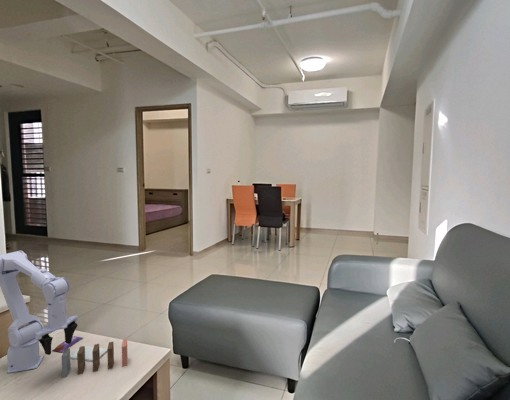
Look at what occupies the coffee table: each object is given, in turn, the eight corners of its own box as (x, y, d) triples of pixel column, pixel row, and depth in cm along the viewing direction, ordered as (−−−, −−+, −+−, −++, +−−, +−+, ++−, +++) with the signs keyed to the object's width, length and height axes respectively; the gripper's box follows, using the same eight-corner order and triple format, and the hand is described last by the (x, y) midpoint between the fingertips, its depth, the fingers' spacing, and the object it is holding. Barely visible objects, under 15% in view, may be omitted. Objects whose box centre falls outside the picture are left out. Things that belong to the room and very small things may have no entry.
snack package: (73, 334, 138) (83, 335, 137) (74, 338, 138) (83, 339, 137) (51, 348, 126) (62, 350, 125) (52, 352, 127) (62, 354, 126)
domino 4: (107, 369, 116) (107, 349, 115) (109, 361, 120) (108, 342, 120) (112, 368, 116) (112, 348, 115) (113, 360, 121) (113, 341, 120)
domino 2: (77, 374, 112) (77, 353, 112) (80, 366, 117) (80, 346, 116) (82, 373, 113) (82, 353, 112) (85, 365, 118) (84, 345, 117)
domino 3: (93, 371, 114) (92, 351, 113) (95, 364, 119) (94, 344, 118) (97, 371, 114) (97, 350, 114) (99, 363, 119) (99, 343, 118)
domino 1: (62, 377, 111) (61, 356, 110) (65, 369, 115) (65, 348, 115) (67, 376, 111) (66, 355, 110) (70, 368, 116) (69, 348, 115)
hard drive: (67, 356, 122) (95, 359, 120) (82, 345, 130) (108, 348, 128) (67, 360, 122) (95, 363, 120) (82, 348, 130) (109, 351, 128)
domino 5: (122, 366, 117) (121, 346, 117) (123, 359, 122) (122, 340, 121) (126, 365, 118) (126, 346, 117) (127, 358, 122) (127, 339, 122)
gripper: (44, 323, 102) (45, 362, 104) (83, 306, 116) (84, 340, 117) (30, 319, 105) (32, 357, 106) (69, 303, 118) (71, 336, 120)
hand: (58, 348), depth 112 cm, fingers open, 7 cm apart
